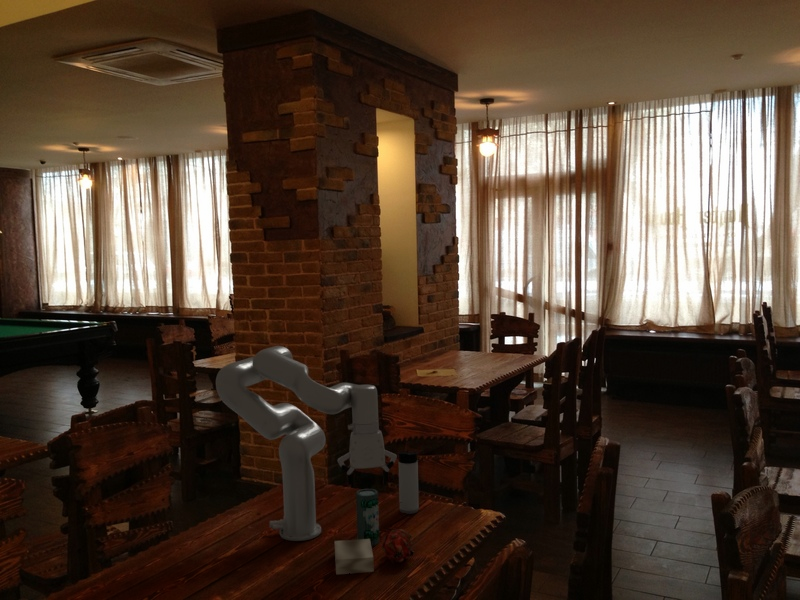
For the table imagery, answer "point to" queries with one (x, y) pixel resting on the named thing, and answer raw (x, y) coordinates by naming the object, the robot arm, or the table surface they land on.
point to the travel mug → (408, 482)
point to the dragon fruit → (397, 545)
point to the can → (367, 515)
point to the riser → (353, 556)
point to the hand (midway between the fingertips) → (368, 485)
